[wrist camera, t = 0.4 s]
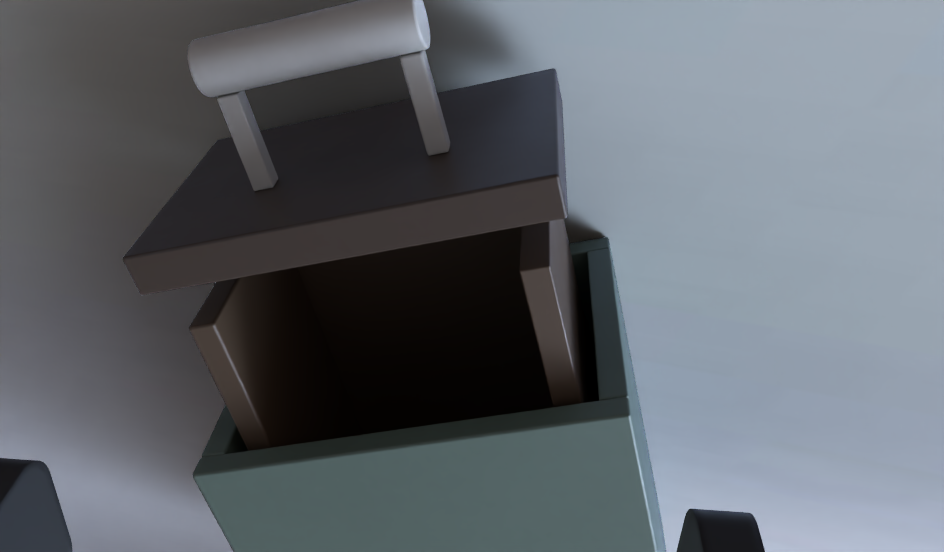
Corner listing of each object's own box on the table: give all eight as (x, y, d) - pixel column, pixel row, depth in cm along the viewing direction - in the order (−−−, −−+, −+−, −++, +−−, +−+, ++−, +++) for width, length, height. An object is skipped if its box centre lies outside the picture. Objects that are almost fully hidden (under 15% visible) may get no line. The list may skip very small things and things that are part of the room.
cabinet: (276, 294, 33) (190, 475, 25) (608, 236, 31) (630, 414, 23) (386, 556, 41) (347, 762, 32) (662, 524, 38) (694, 738, 30)
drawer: (163, 13, 27) (40, 103, 20) (526, -76, 25) (520, -7, 18) (342, 442, 36) (297, 602, 29) (622, 402, 34) (641, 565, 27)
